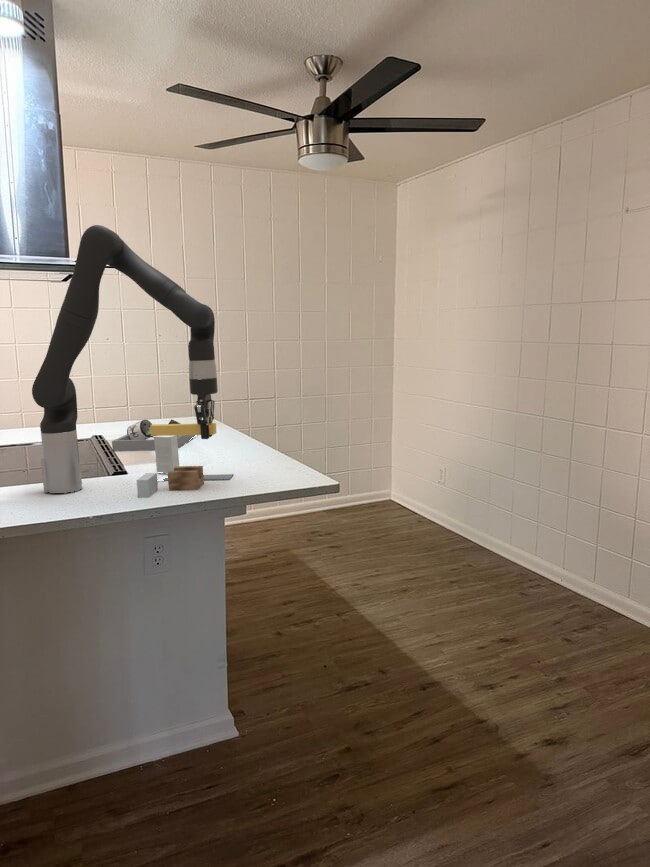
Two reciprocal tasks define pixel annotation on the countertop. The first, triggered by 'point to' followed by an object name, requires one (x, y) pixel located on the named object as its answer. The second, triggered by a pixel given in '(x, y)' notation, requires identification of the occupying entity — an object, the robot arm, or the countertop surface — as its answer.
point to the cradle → (185, 478)
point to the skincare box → (166, 453)
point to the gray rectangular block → (147, 485)
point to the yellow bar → (179, 429)
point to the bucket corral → (142, 443)
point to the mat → (214, 477)
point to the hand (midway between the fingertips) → (206, 437)
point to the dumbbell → (142, 430)
